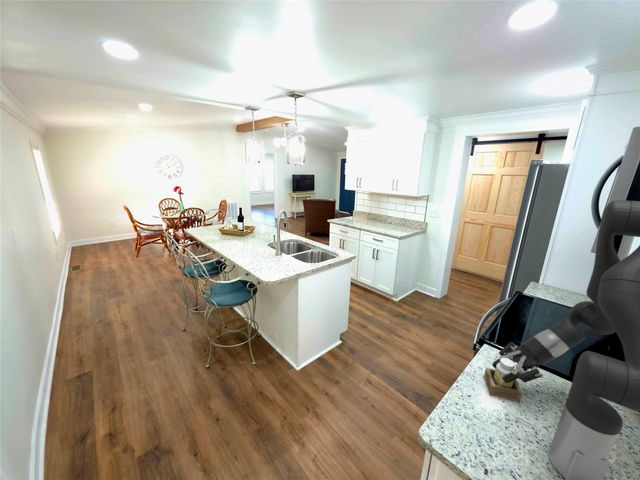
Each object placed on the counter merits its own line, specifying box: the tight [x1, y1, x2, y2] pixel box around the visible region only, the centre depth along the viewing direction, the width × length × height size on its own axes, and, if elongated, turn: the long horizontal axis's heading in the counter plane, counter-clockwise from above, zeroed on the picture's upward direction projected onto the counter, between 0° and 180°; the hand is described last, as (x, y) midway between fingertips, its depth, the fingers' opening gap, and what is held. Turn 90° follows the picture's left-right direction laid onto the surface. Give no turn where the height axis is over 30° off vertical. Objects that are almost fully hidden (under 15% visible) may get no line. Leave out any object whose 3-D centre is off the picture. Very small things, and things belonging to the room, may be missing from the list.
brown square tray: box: [483, 367, 523, 404], centre depth 89 cm, size 8×8×4 cm
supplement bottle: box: [493, 358, 516, 388], centre depth 88 cm, size 5×5×10 cm
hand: (498, 373), depth 88 cm, fingers closed on supplement bottle, 5 cm apart
